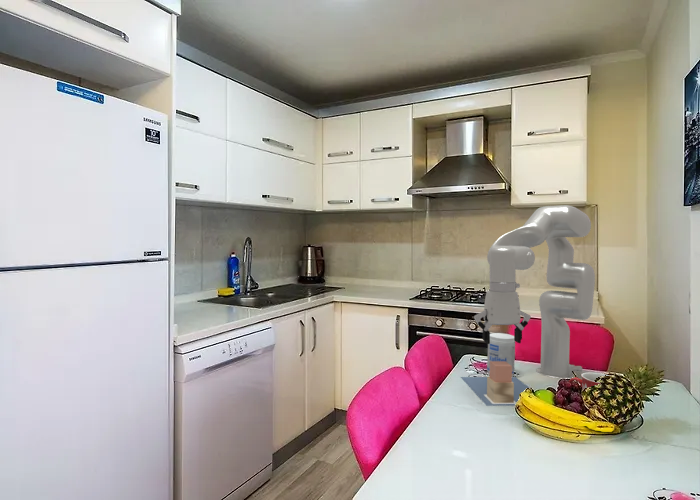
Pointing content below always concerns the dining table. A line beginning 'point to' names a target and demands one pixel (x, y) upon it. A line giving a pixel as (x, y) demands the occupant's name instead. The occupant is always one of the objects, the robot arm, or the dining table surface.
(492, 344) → the supplement tub
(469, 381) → the board
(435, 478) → the dining table surface
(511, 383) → the beech block
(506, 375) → the terracotta block
